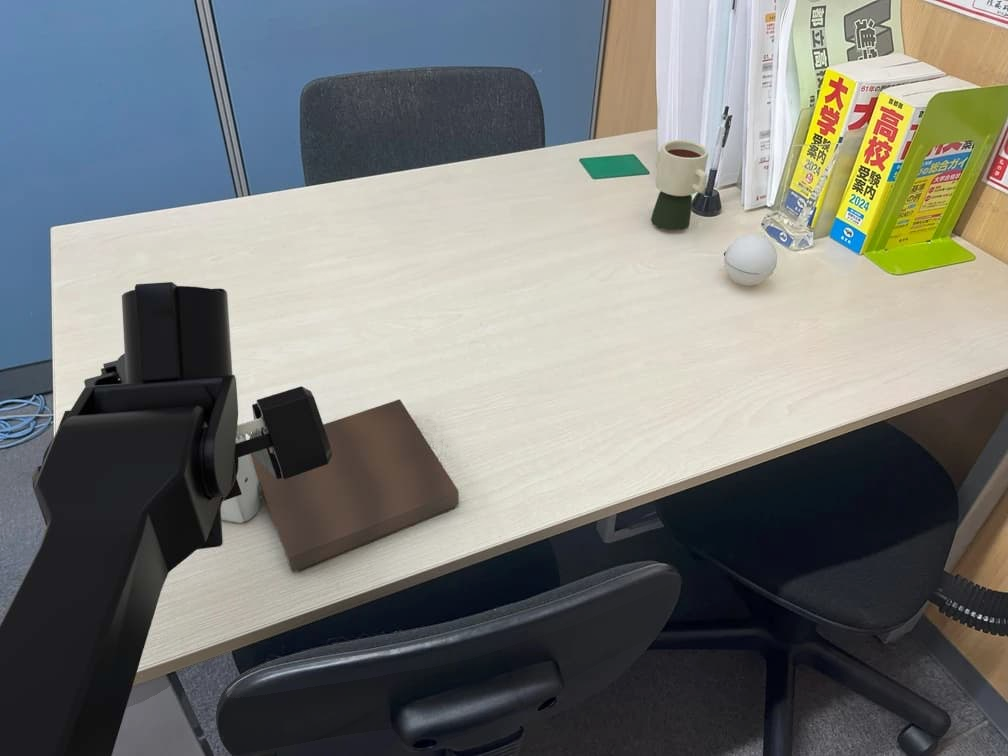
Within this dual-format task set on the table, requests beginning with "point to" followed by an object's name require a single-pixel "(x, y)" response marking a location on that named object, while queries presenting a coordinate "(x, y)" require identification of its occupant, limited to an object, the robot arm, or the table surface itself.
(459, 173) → the table surface
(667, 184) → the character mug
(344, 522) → the walnut stand
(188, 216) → the table surface
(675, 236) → the table surface
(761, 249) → the seamed sphere
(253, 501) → the photo printer
